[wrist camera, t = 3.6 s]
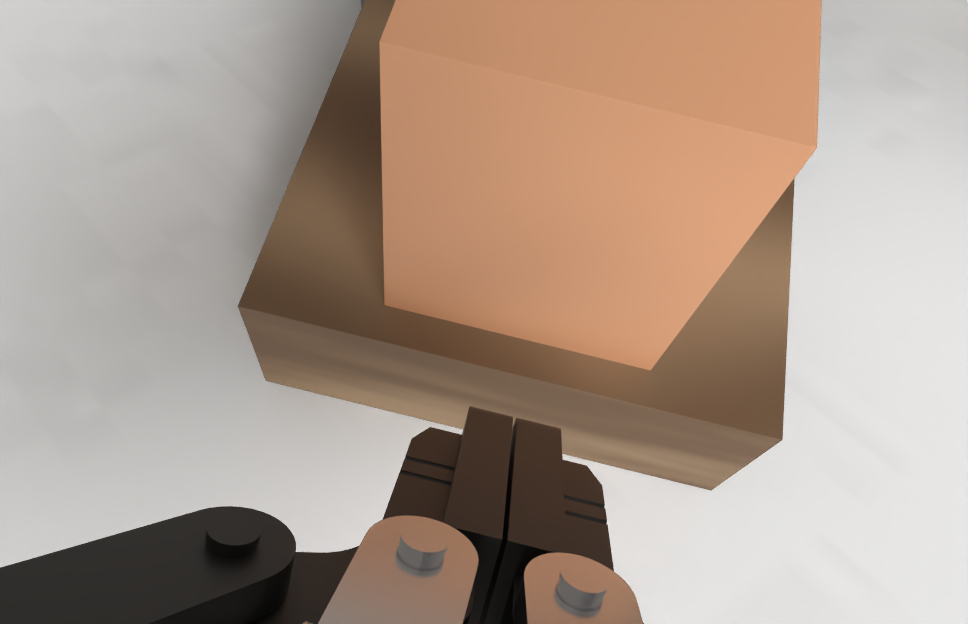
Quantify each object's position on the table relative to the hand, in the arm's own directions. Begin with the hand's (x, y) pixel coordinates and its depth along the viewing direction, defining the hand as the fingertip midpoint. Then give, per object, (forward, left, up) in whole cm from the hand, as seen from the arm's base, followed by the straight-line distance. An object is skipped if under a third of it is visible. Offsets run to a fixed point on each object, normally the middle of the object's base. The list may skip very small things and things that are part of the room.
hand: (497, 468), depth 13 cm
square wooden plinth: (-4, -10, -11) cm, 15 cm away
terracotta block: (-3, -8, -6) cm, 11 cm away
